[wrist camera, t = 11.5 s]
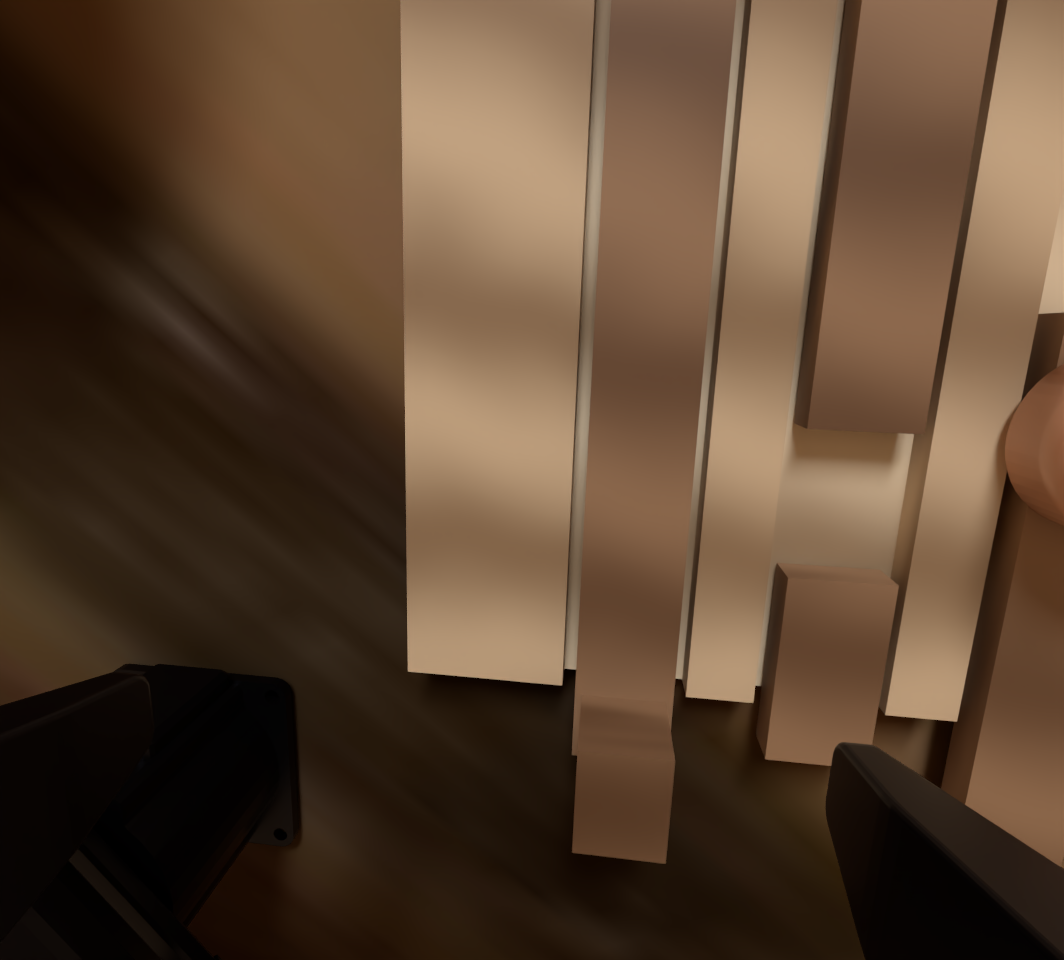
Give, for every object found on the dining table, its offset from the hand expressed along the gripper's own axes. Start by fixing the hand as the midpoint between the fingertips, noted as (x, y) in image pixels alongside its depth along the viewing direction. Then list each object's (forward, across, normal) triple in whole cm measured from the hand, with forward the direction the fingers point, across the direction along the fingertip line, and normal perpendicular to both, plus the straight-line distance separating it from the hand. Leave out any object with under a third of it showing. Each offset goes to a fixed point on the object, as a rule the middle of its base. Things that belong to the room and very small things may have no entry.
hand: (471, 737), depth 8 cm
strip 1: (+11, -2, -3) cm, 11 cm away
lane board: (+12, -8, -5) cm, 15 cm away
